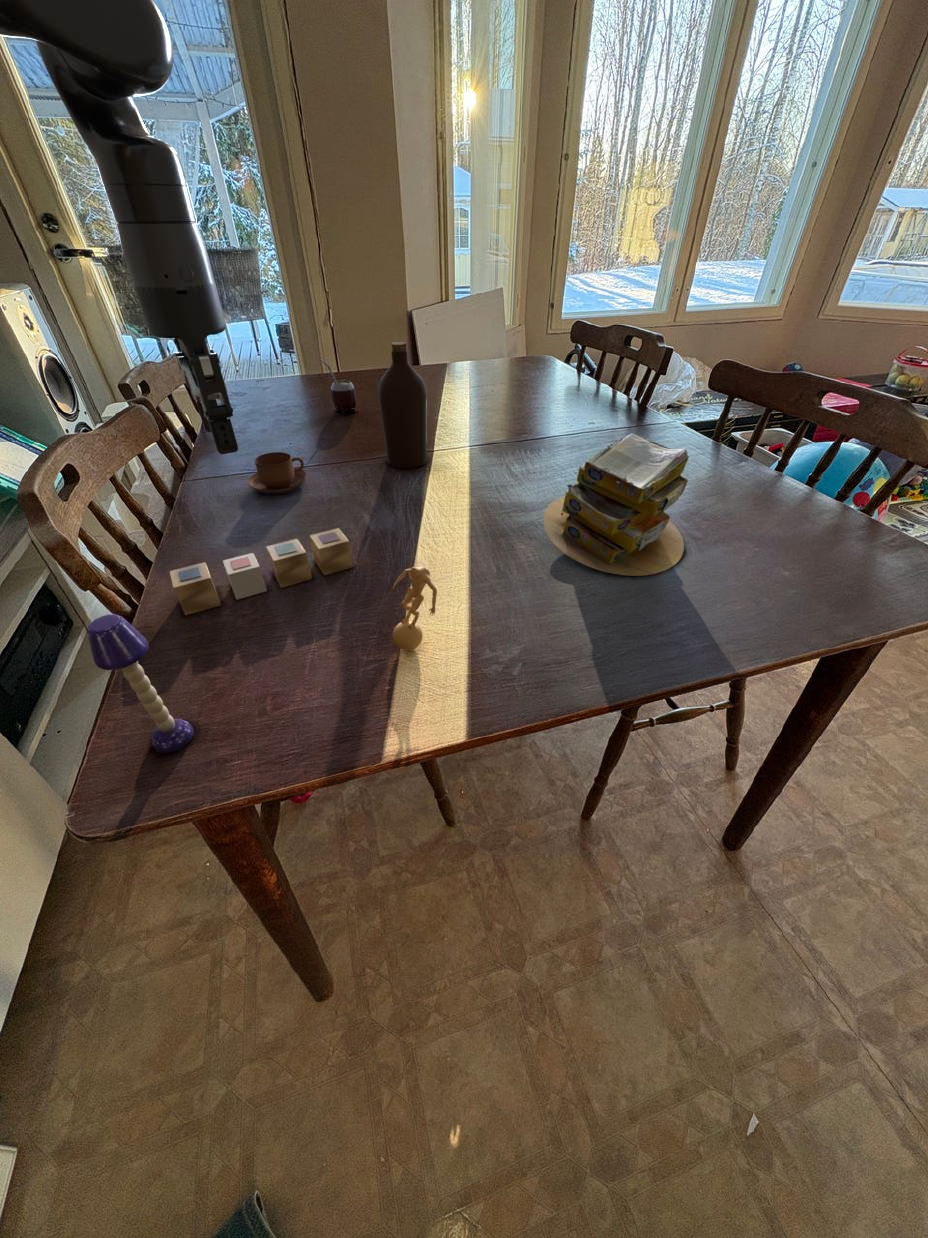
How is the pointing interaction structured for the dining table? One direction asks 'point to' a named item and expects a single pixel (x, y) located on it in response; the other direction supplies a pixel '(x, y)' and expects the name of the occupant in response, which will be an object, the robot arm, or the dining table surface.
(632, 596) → the dining table surface
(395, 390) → the olive oil
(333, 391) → the mate gourd
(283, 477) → the cup and saucer
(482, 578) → the dining table surface
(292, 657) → the dining table surface
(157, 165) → the robot arm
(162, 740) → the toy lamp
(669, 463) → the stacked food boxes
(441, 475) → the dining table surface
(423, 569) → the figurine
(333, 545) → the block row
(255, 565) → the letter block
